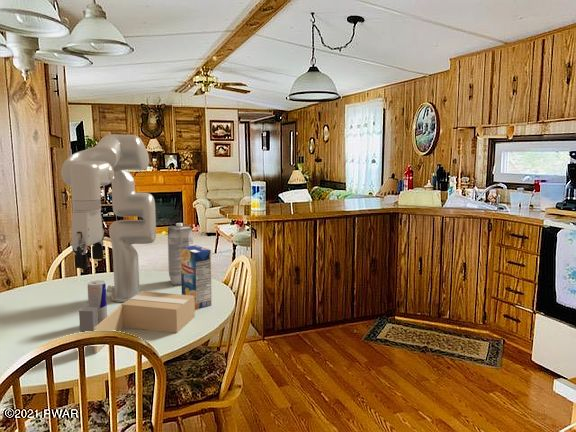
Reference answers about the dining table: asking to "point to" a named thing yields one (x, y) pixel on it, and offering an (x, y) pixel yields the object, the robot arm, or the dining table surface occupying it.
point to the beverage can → (98, 298)
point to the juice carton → (177, 249)
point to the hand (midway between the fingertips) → (90, 263)
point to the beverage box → (196, 274)
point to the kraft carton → (158, 311)
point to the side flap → (111, 322)
